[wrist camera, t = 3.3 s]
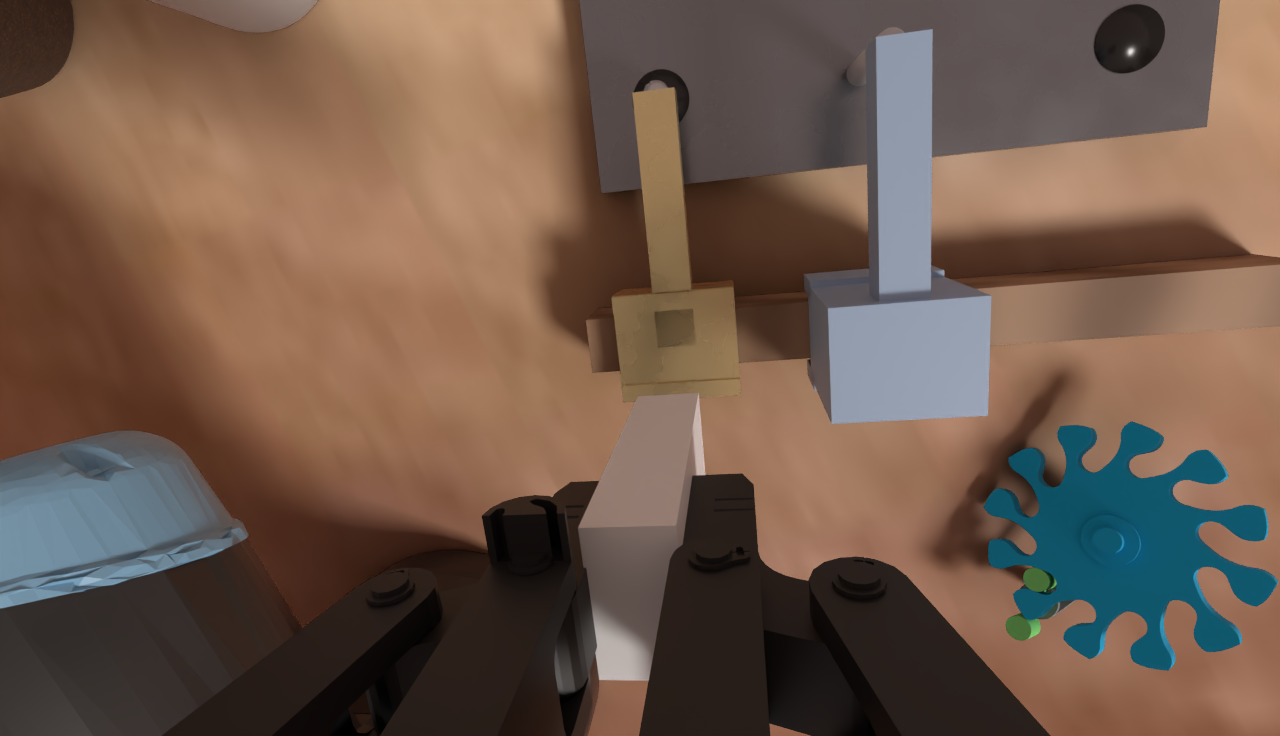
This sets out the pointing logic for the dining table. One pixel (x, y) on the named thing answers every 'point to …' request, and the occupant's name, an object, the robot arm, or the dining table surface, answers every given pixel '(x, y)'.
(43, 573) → the robot arm
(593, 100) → the hole plate
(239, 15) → the mug
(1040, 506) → the gear
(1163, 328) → the beam
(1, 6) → the plant pot
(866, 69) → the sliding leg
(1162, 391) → the dining table surface
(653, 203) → the fixed leg
